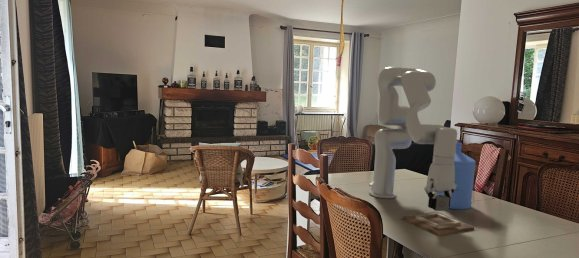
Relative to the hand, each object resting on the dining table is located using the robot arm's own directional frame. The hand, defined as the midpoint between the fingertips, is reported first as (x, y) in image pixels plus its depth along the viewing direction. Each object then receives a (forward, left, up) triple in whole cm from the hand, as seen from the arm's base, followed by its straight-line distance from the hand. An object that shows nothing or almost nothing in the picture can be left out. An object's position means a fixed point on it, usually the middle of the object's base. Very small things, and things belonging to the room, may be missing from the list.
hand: (438, 206), depth 145 cm
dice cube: (0, 0, -1) cm, 1 cm away
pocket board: (0, 0, -7) cm, 7 cm away
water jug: (-16, +27, -7) cm, 32 cm away
